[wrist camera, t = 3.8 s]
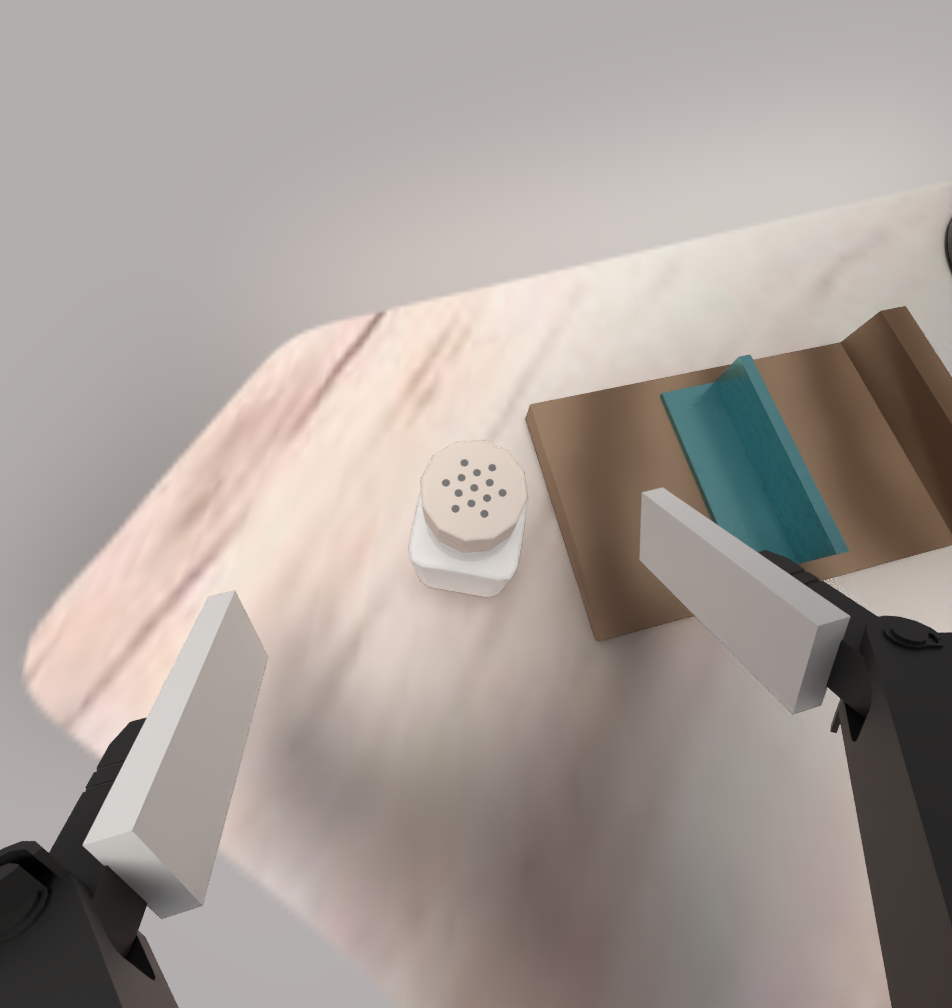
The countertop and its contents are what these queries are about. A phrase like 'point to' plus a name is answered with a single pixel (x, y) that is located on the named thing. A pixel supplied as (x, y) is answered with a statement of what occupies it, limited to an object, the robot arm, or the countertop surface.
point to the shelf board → (816, 432)
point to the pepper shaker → (469, 519)
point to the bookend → (751, 466)
